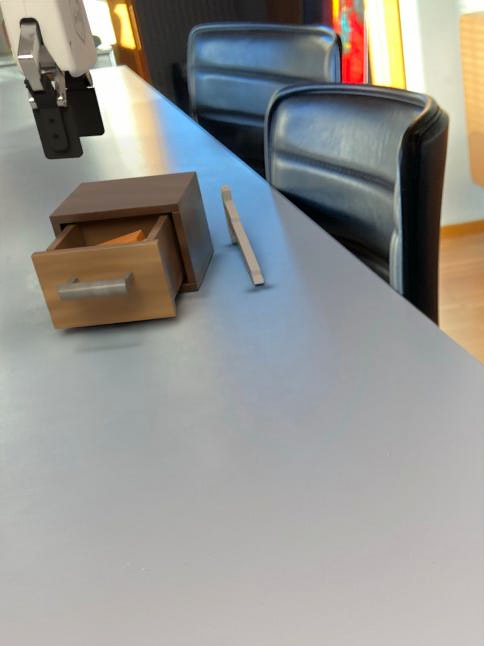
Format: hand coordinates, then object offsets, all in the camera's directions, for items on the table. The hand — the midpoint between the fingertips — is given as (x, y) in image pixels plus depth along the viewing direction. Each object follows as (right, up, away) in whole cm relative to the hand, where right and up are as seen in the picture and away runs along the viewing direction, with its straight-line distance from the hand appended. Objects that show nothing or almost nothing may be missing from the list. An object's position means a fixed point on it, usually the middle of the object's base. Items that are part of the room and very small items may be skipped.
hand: (77, 146), depth 93 cm
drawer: (+2, -12, +7) cm, 14 cm away
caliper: (+11, -3, +20) cm, 23 cm away
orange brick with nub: (+2, -11, +6) cm, 12 cm away
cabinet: (+1, -5, +18) cm, 19 cm away
